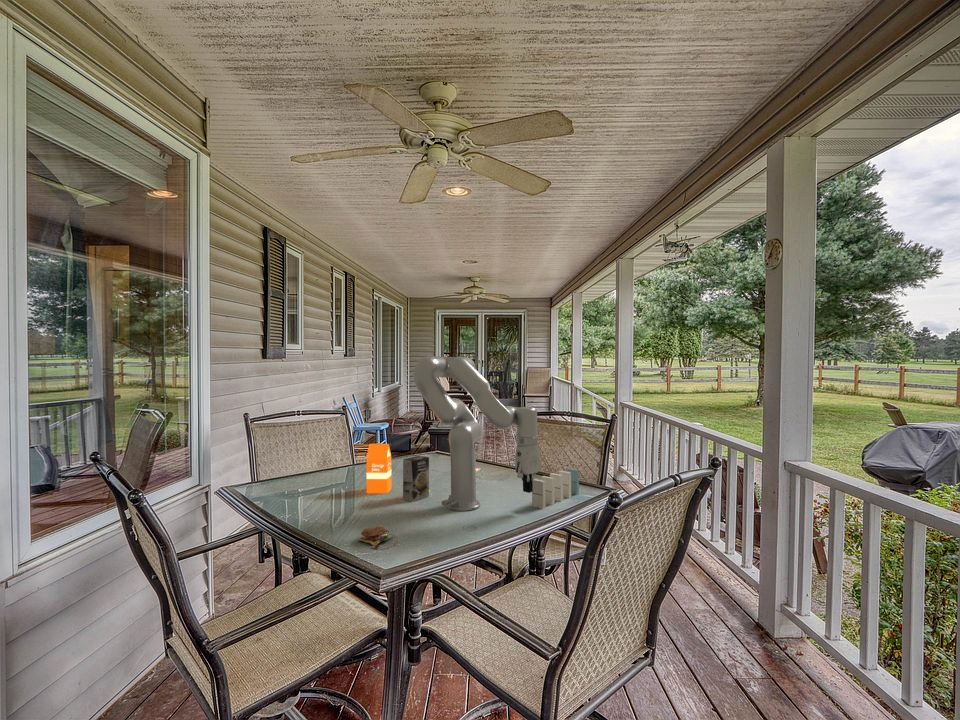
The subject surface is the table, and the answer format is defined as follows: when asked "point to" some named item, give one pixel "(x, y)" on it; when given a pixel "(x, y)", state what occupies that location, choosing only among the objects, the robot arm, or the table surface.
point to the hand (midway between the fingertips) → (527, 491)
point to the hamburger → (375, 536)
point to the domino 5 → (574, 480)
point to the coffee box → (415, 478)
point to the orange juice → (378, 468)
